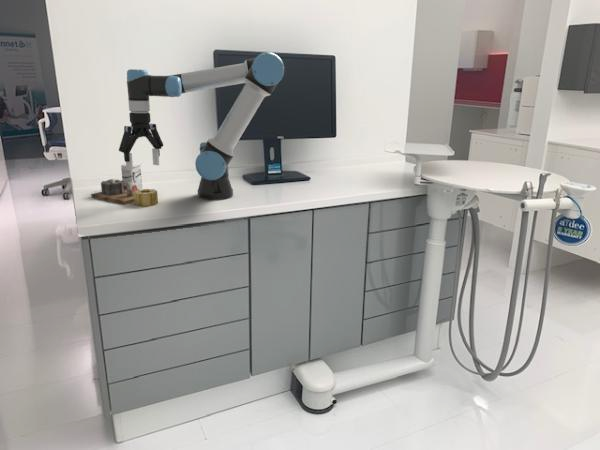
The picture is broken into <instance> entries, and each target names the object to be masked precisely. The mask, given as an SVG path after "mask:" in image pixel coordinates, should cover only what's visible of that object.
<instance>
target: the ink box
mask: <svg viewBox="0 0 600 450" xmlns="http://www.w3.org/2000/svg"><path fill="white" fill-rule="evenodd" d="M132 164H133V170H132V171H131V170H126V163H124V164H121V165H120V166H121V167H120V169H121V178H122V179H121V181H124V189H126V182H132V190H133V191H136V190H142V189H143V182H142V181H143V178H142V177H143V176H142V165H141V162H140V163H139V162H134V161H132Z"/></svg>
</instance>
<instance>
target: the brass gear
mask: <svg viewBox="0 0 600 450" xmlns="http://www.w3.org/2000/svg"><path fill="white" fill-rule="evenodd" d="M158 196H159V195H158V190H156V189H154V188H152V189H150V188H149V189H148V188H142V189H140V190H136V191H134V198H135V202H134V205H136V207H150V206H152V207H153V206H156V205H158V204H159V197H158Z"/></svg>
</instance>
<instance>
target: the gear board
mask: <svg viewBox="0 0 600 450" xmlns="http://www.w3.org/2000/svg"><path fill="white" fill-rule="evenodd" d="M100 187H101V191H99V192H94V193H91V194H90V195H91V198H92V199H95V200H96V199H97V200H101V201H105V202H111V203H116V204H120V205H129V204H133V203H135V198H134V191H133V190H132V182H126V189H124V181H122V180H120V179H115V178H110V179H107V180H103V181H101V183H100Z"/></svg>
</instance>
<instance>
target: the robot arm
mask: <svg viewBox="0 0 600 450" xmlns="http://www.w3.org/2000/svg"><path fill="white" fill-rule="evenodd" d="M284 74H285V65H284V62H283V60H282V59H281V56H278V54H275V53H274V52H272V51H265V52H262V53H260V54H258V55H257V56H256V57H253V58H250V59H245V60H244V61H243V63H237V64H231V65H225V66H220V67H219V66H218V67H211V68H207V69H201V70H194V71H190V72H183V73H177V74H170V75H150V74H149V73H148V70H147V69H128V70H127V71H126V87H127V97H128V98H127V100H128V111H130V112H129V116H128V117H129V123H130V126H129V125H124V126H123V127H124V128H123V135H122V138H121V142H120V144H119V148H118V151H119V152H121V153H123V158H124V162H125V164H126V170H131V171H132V170H133V164H132V162H133V153H132V152H131V150H132V149H133V148H134V145H135V144H136V141H137V140H138V139H139V138H142V137H143V138H144V137H145V138H146V139H147V141H148V142H149V143H150V145H151V146H152V147H153V148H152V149H151V151H152V165H153V166H160V156H161V153H160V150H161V149H162V147H164V143H163V141H162V138H161V136H160V134H159V132H158V129H157V128H158V127H157V124H156V123H151V113H150V111H151V108H150V107H151V106H150V97H162V98H166V97H167V98H169V97H170V98H179V97H181V96H182V94H185V93H186V94H187V93H193V92H198V91H204V90H210V89H216V88H221V87H222V88H223V87H229V86H234V85H240V84H244V86H243V88H242V90H241V91H240V93H239V94H238V96H237V98H236V99H235V101H234V103H233V105H232V107H231V108H230V110H229V112H228V113H227V114H226V117H225V118H224V120H223V122H222V124H221V125H220V127H219V128H218V131H216V133H215V135H214V137H213V138H212V137H211V138H209V139H208V140H207V141H205V142H203V141H202V142H201V143H200V145H199V154H198V155H197V157H196V159H195V163H194V164H195V170H196V172H197V173H198V175H199V176H200V181H199V184H198V189H197V197H198V198H201V199H205V200H224V199H229V198H232V197H233V196H234V189H233V187H232V184H231V181H230V177H229V175H230V174H229V173H230V172H229V164H230V163H231V161H232V159H233V158H234V156H235V153H234V148H235V147H236V145H237V144H238V142H239V141H240V138H241V137H242V135H243V133H245V131H246V129H247V127H248V126H249V124H250V122H251V120H252V119H253V117H254V116H255V114H256V113H257V110H258V109H259V107H260V106H261V103H262V102H263V100H264V99H265V98H266V97H268V96H271V95H272V93H273V92H274V90H275V89H276V87H277V86H278V84H279V83H280V81H282V80H283V78H284Z"/></svg>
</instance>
